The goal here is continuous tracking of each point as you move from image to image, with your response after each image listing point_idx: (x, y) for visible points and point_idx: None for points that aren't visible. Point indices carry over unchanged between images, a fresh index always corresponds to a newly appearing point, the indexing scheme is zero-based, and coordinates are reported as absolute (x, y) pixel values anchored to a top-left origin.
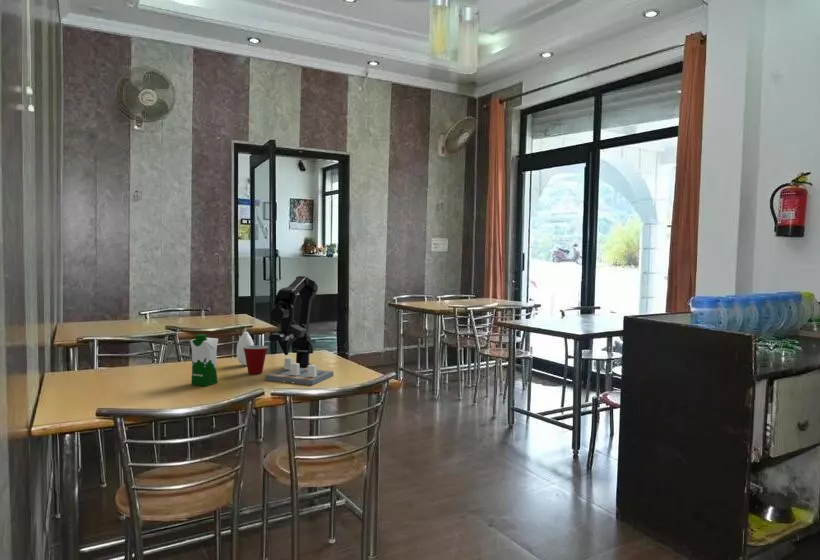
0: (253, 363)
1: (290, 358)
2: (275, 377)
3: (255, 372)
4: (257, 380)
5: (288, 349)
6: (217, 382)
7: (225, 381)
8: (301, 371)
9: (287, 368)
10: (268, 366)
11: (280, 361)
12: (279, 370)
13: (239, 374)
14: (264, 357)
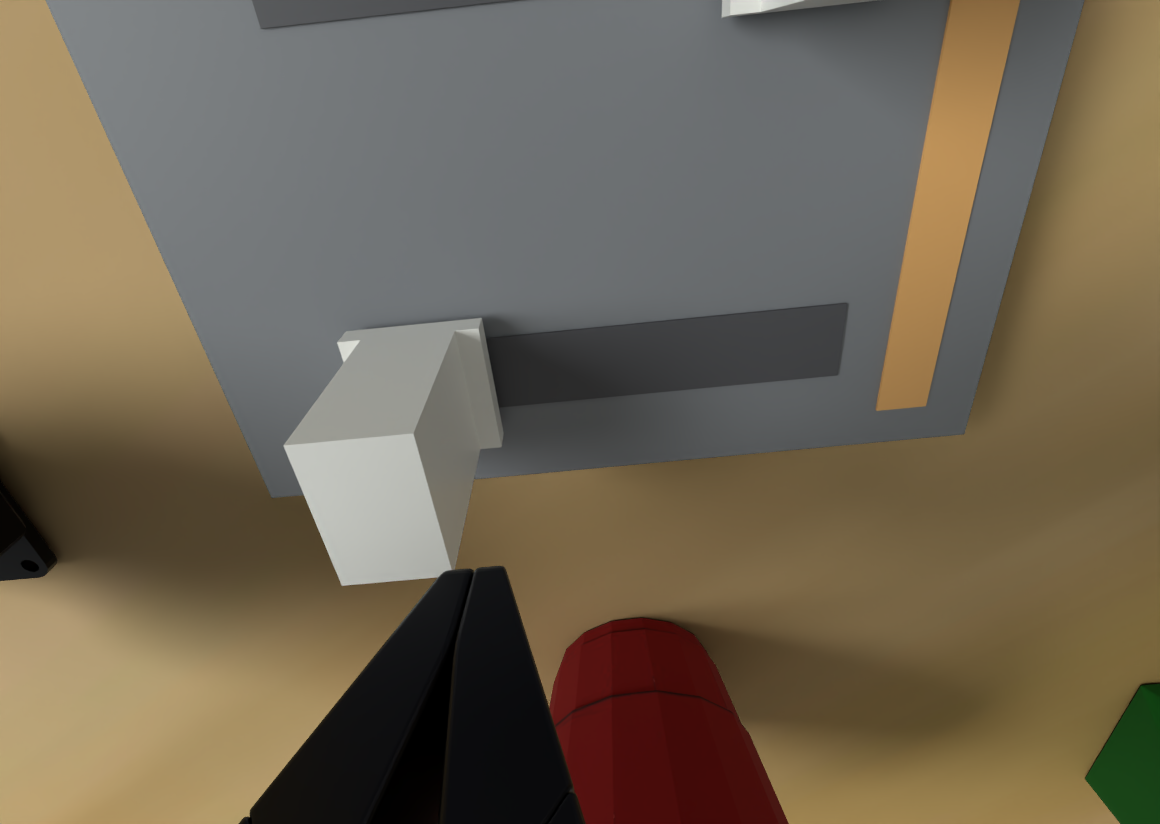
0: (766, 776)
1: (357, 476)
2: (1004, 237)
3: (706, 653)
4: (962, 463)
5: (418, 717)
6: (1144, 686)
7: (1071, 667)
8: (396, 33)
9: (490, 375)
10: (298, 736)
11: (36, 773)
12: (575, 457)
13: (749, 730)
14: (620, 819)
